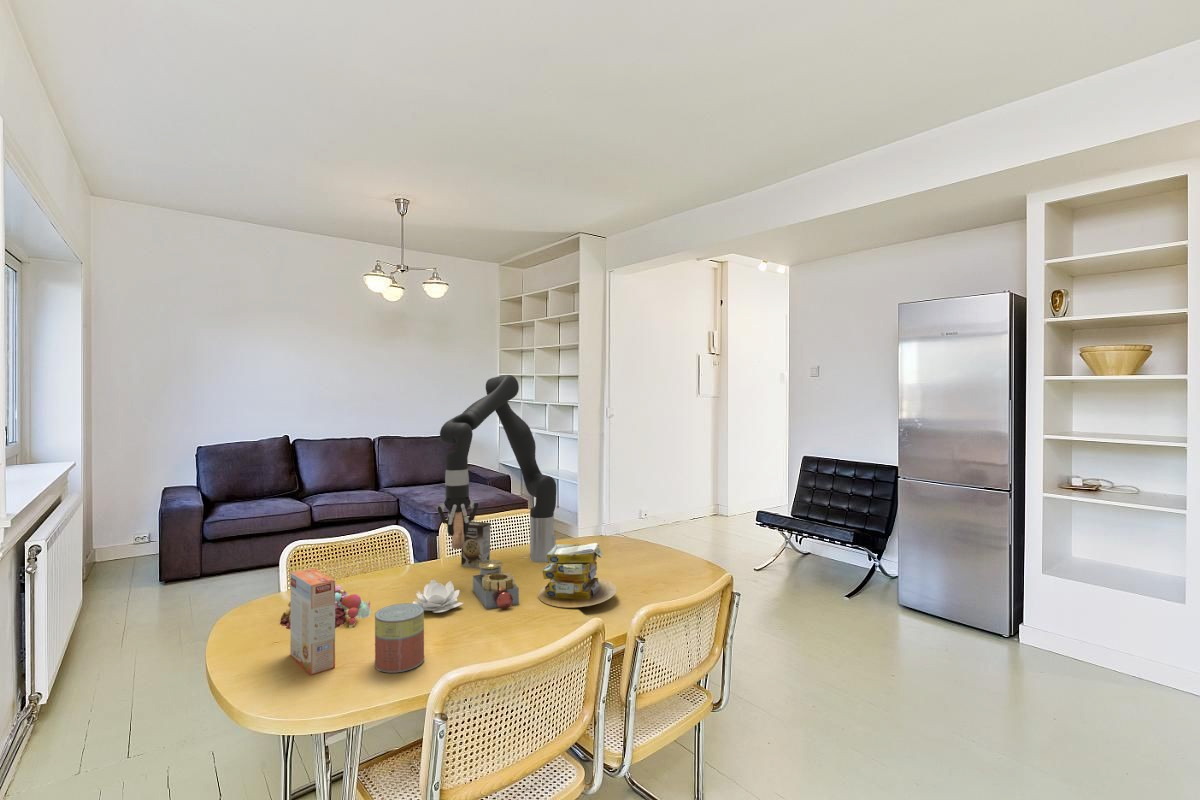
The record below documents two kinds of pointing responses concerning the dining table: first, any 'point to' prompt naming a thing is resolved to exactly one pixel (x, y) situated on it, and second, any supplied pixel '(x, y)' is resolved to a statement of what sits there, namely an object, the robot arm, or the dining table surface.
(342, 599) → the candy landscape model
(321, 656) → the cracker box
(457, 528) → the copper pipe
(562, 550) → the stacked food boxes
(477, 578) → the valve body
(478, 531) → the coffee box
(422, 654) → the canned food
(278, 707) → the dining table surface
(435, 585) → the lotus flower
